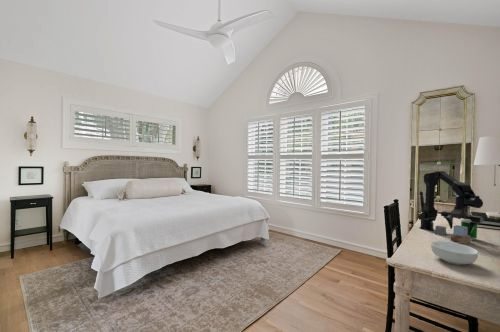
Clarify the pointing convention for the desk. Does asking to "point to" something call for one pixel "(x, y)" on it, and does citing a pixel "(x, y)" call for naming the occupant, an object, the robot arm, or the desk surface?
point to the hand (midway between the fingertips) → (460, 230)
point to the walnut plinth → (460, 239)
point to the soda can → (467, 224)
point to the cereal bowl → (454, 252)
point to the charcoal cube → (440, 230)
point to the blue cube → (460, 230)
